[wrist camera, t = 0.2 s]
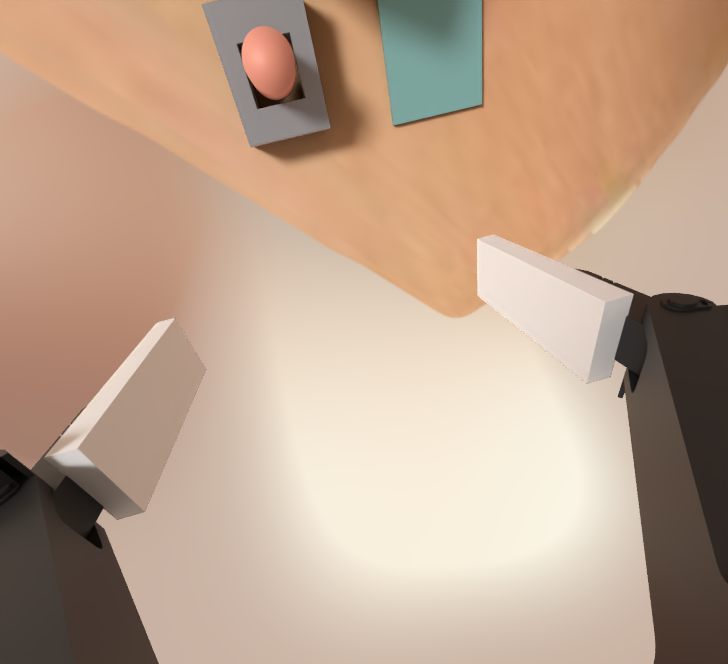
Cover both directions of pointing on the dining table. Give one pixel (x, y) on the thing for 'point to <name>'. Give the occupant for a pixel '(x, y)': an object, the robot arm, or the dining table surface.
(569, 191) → the dining table surface
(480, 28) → the pad
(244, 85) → the housing
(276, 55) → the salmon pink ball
